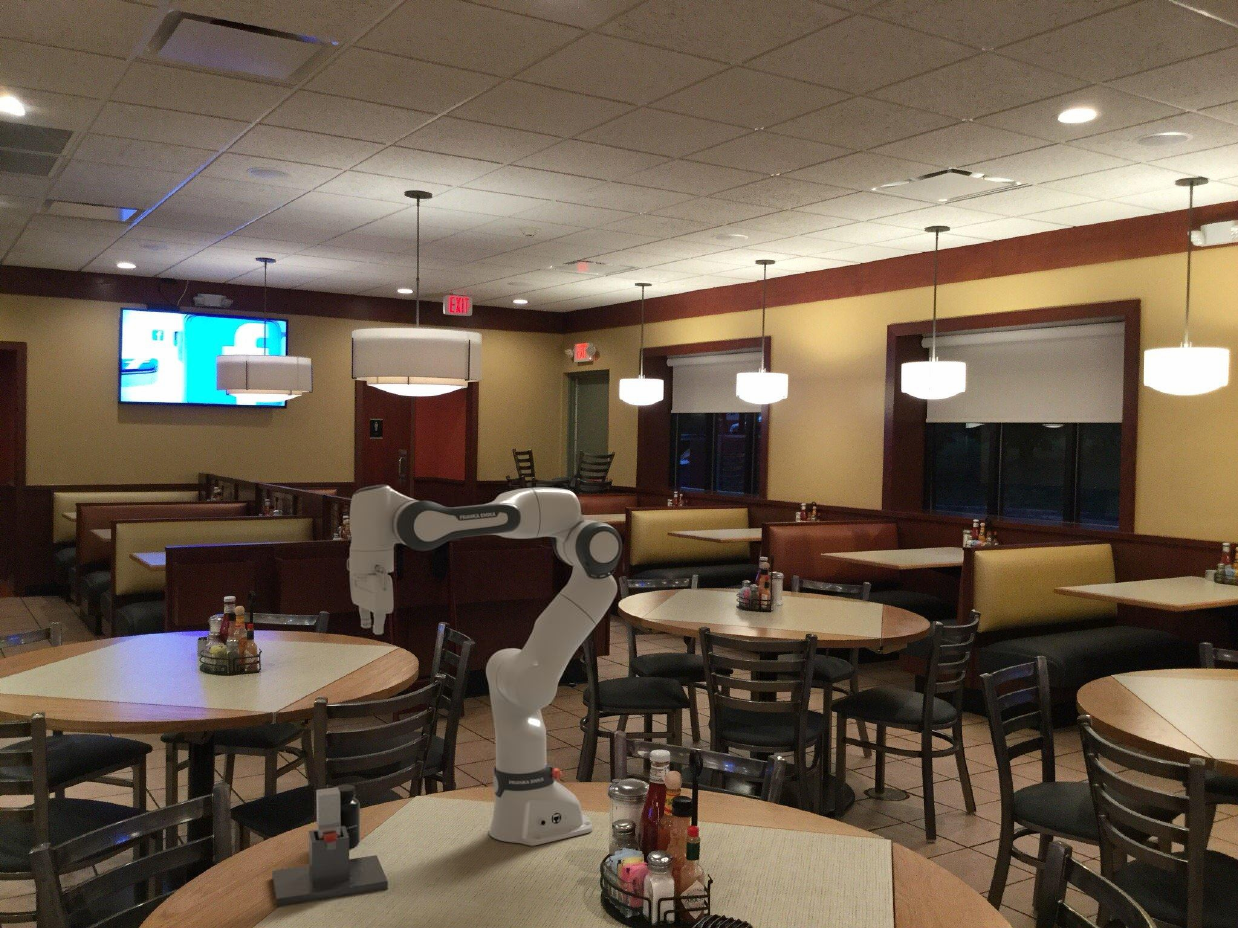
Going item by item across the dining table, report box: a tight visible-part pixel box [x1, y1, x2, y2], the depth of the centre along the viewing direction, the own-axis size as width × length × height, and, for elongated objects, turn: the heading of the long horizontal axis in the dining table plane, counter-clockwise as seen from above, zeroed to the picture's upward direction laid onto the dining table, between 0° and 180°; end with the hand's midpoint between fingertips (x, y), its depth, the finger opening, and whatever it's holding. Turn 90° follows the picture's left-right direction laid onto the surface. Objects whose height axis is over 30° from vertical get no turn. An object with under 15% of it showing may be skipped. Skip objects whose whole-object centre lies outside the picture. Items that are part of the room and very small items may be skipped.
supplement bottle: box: [332, 784, 361, 849], centre depth 216 cm, size 7×7×12 cm
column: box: [315, 786, 341, 841], centre depth 196 cm, size 4×4×16 cm
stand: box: [271, 826, 389, 908], centre depth 196 cm, size 20×14×10 cm
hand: (372, 630), depth 210 cm, fingers open, 8 cm apart
